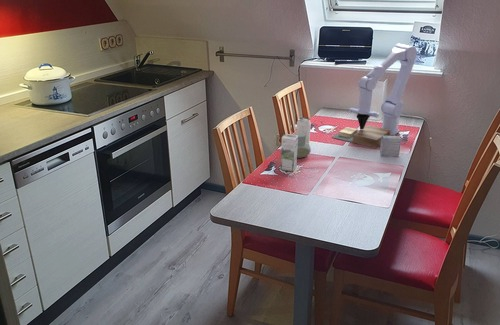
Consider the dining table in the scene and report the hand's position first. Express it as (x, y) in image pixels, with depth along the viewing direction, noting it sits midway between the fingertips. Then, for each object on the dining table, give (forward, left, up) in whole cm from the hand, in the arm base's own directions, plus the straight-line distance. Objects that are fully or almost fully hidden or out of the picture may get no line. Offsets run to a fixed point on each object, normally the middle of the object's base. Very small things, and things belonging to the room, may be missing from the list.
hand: (361, 128), depth 225 cm
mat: (0, -6, -5) cm, 8 cm away
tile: (0, -7, -2) cm, 7 cm away
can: (+24, -20, -5) cm, 31 cm away
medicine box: (+14, +19, -5) cm, 24 cm away
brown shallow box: (0, +5, -5) cm, 7 cm away
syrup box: (+54, -10, -5) cm, 55 cm away
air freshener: (+39, -14, -5) cm, 42 cm away
